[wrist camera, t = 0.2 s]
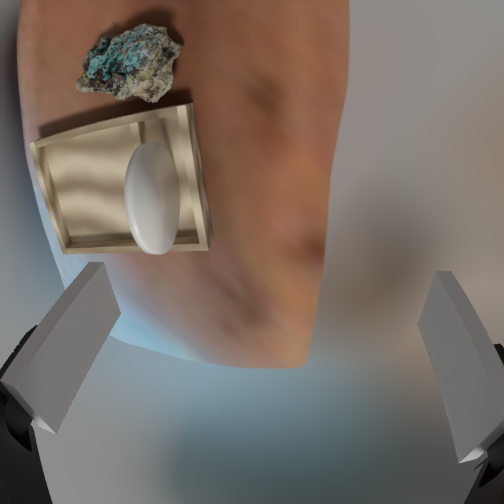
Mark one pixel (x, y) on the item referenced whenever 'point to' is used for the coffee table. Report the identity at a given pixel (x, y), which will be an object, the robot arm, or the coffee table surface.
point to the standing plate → (152, 198)
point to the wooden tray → (119, 180)
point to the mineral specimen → (131, 64)
